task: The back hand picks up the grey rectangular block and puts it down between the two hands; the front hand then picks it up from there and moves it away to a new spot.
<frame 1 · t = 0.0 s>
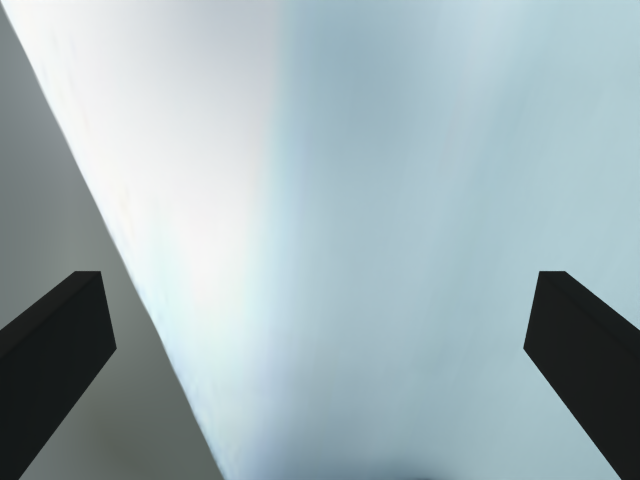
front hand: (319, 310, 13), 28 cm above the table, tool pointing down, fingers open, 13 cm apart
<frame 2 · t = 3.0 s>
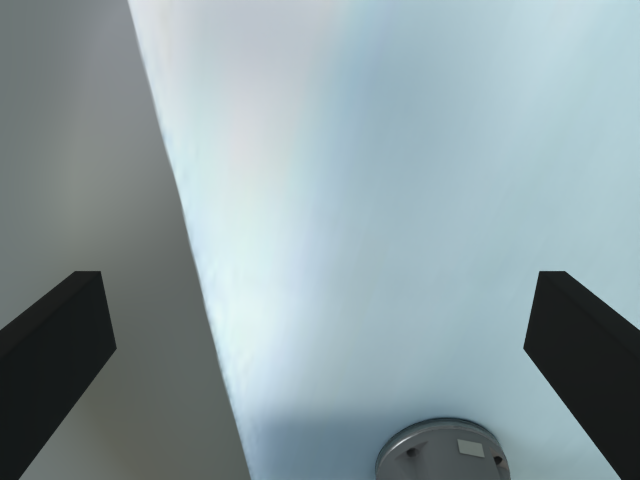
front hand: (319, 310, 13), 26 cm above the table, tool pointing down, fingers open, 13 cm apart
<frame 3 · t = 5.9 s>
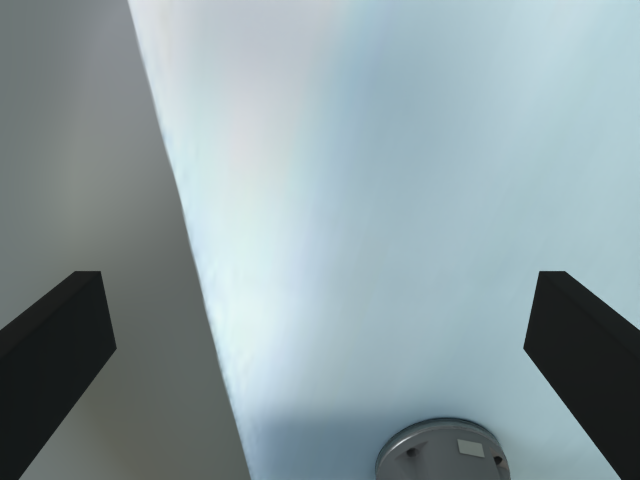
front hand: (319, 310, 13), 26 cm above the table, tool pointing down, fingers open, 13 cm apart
when the back hand's fingers open (5 cm above the table, at t = 9.2 s): grey rectangular block drops 2 cm, on the table.
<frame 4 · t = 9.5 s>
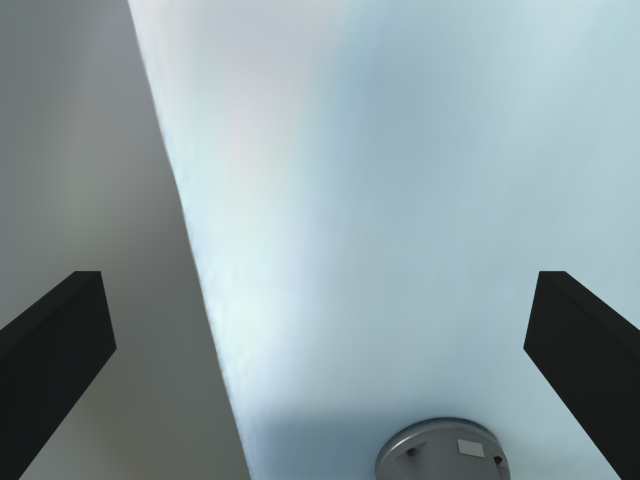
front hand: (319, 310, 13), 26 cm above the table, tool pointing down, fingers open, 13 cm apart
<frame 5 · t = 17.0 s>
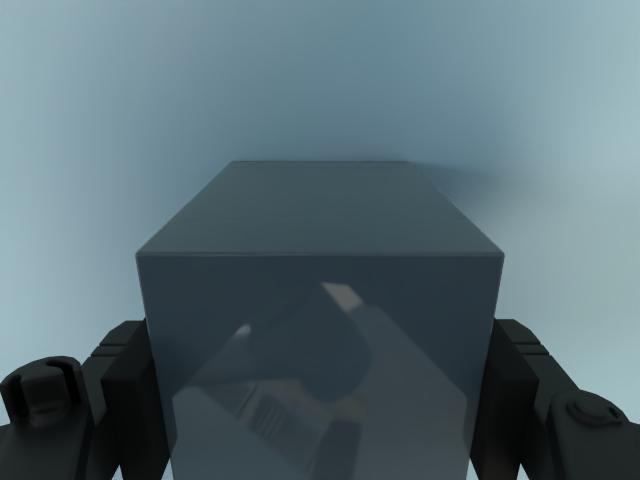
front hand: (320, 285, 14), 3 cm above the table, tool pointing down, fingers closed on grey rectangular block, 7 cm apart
grey rectangular block: (319, 249, 17), on the table, touching front hand
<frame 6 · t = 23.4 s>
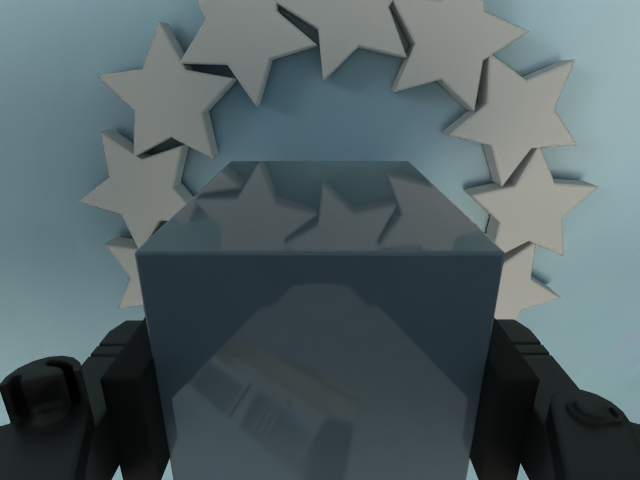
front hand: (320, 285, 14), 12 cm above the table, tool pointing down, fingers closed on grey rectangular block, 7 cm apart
decorative wreath: (333, 213, 26), on the table
grey rectangular block: (319, 248, 17), point 9 cm above the table, touching front hand
when the front hand's fingers open (5 cm above the table, at t = 30.0 s): grey rectangular block drops 2 cm, on the table.
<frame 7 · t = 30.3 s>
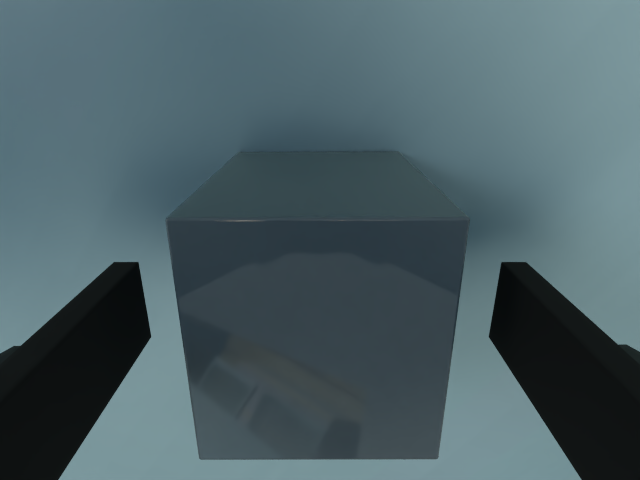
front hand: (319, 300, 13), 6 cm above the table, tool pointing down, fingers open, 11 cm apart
grey rectangular block: (318, 232, 19), on the table
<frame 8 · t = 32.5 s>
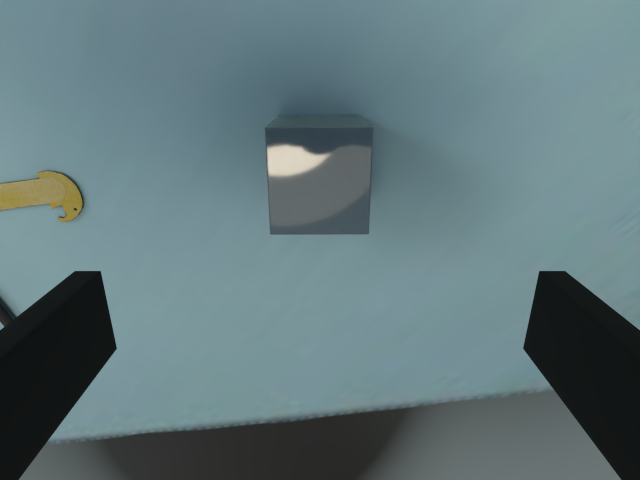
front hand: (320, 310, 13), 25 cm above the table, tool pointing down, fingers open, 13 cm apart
grey rectangular block: (319, 158, 36), on the table
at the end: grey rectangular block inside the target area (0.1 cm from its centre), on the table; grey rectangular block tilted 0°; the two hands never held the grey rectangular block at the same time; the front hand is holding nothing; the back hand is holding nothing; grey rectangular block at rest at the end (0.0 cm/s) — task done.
